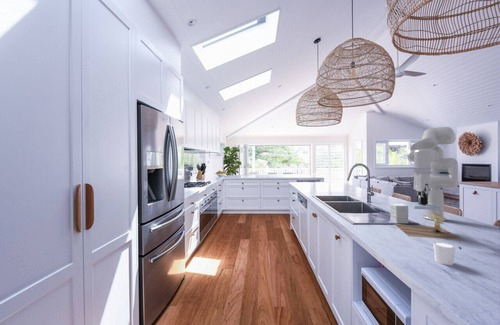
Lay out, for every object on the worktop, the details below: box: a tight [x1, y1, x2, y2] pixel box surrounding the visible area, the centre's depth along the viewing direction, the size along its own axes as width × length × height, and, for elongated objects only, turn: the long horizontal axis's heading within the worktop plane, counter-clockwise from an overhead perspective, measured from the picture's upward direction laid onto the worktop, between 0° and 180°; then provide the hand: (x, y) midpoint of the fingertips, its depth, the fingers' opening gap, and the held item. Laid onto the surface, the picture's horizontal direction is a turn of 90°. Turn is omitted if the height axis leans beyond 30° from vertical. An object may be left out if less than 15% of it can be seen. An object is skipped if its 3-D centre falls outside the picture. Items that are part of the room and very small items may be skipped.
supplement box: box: [389, 203, 409, 224], centre depth 141 cm, size 7×7×13 cm
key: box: [431, 213, 448, 233], centre depth 120 cm, size 2×11×9 cm, turn 162°
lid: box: [405, 195, 441, 210], centre depth 124 cm, size 12×12×6 cm
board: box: [394, 223, 465, 241], centre depth 122 cm, size 22×24×2 cm
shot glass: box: [432, 241, 457, 266], centre depth 89 cm, size 7×7×7 cm
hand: (422, 203), depth 124 cm, fingers closed on lid, 3 cm apart
